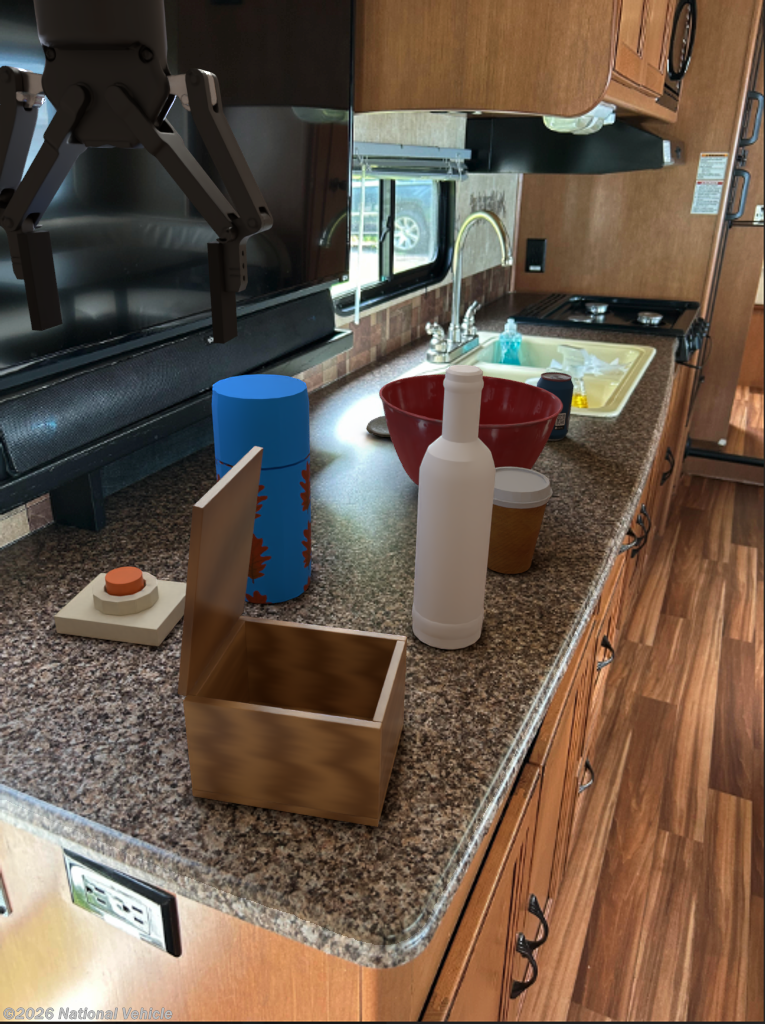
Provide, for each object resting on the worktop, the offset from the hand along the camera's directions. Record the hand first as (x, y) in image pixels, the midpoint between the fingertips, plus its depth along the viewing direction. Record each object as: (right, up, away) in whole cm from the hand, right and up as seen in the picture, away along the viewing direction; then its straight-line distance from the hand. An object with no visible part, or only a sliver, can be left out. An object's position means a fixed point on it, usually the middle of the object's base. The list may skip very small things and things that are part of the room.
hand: (135, 333), depth 55 cm
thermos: (+3, -22, +41) cm, 47 cm away
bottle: (+25, -26, +32) cm, 48 cm away
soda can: (+50, +2, +96) cm, 108 cm away
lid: (+20, +2, +95) cm, 97 cm away
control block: (-11, -25, +33) cm, 43 cm away
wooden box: (+11, -34, +13) cm, 38 cm away
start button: (-11, -21, +32) cm, 40 cm away
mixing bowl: (+31, -9, +71) cm, 78 cm away
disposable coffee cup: (+34, -20, +47) cm, 61 cm away
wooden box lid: (+5, -17, +6) cm, 19 cm away
